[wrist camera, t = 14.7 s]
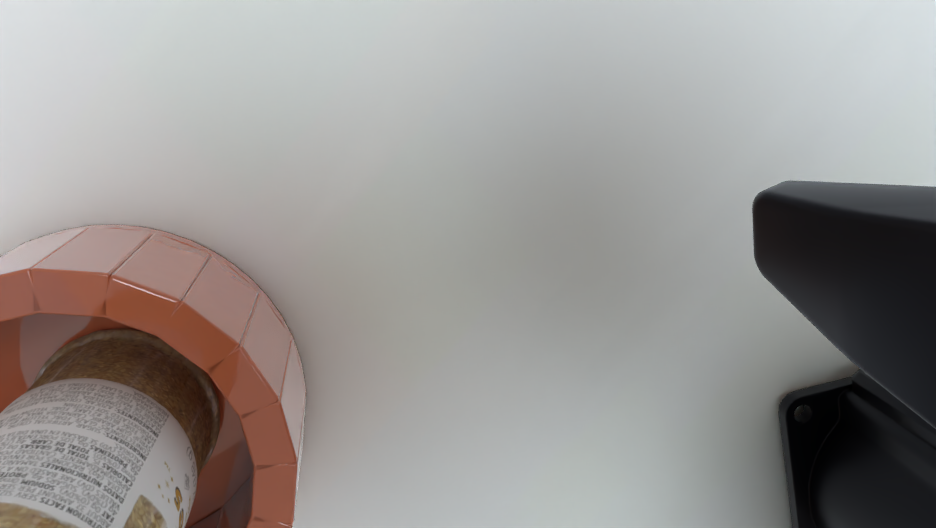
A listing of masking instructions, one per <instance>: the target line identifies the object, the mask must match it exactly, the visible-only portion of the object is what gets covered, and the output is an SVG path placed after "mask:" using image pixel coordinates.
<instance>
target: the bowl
mask: <svg viewBox="0 0 936 528" xmlns="http://www.w3.org/2000/svg"><path fill="white" fill-rule="evenodd" d="M118 328H125V329H133V330H140V331H144V332H147V333H149V334H152V335H155V336H157V337H159V338H160V339H161V340H163V341H164V342H166V343H167V344H168V345H170V346H171V347H172V348H174V349H175V350H176V351H178V352H179V353H180V354H182V355H183V356H185V357H186V358H187V359H189V360H190V361H191V362H193V363H194V364H195V365H197V366H198V367H199V368H201V369H202V370H204V371H205V372H206V373H207V375H208V376H209V377H210V379H211V381H212V384H213V386H214V389H215V392H216V394H217V397H218V399H219V408H220V427H219V434H218V438H217V443H216V445H215V448H214V450H213V452H212V455H211V457H210V459H209V461H208V462H207V464H206V465H205V467H204V468H203V469H202V470H201V472H200V475H199V477H198V480H197V488H196V495H195V498H194V502H193V505H192V508H191V511H190V514H189V517H188V520H187V523H186V525H185V528H292V527H293V522H294V518H295V509H296V500H297V491H298V482H299V473H300V465H301V456H302V447H303V436H304V422H305V408H306V387H305V378H304V373H303V368H302V364H301V359H300V356H299V353H298V350H297V347H296V344H295V342H294V339H293V336H292V334H291V332H290V331H289V329H288V327H287V325H286V323H285V321H284V319H283V317H282V316H281V314H280V313H279V311H278V310H277V308H276V307H275V306H274V304H273V303H272V301H271V300H270V298H269V297H268V296H267V295H266V294H265V293H264V292H263V291H262V290H261V289H260V287H259V286H258V285H257V284H256V283H255V282H254V281H253V280H252V279H251V278H250V277H248V276H247V275H246V274H245V273H244V272H242V271H241V270H240V269H239V268H238V267H237V266H235V265H234V264H232V263H231V262H229V261H228V260H226V259H225V258H223V257H222V256H220V255H219V254H217V253H215V252H214V251H212V250H210V249H208V248H206V247H204V246H202V245H200V244H197V243H195V242H193V241H191V240H188V239H185V238H183V237H180V236H177V235H174V234H171V233H168V232H164V231H159V230H154V229H150V228H145V227H138V226H127V225H90V226H84V227H77V228H71V229H65V230H62V231H58V232H55V233H51V234H48V235H45V236H41V237H39V238H36V239H33V240H30V241H28V242H25V243H23V244H21V245H19V246H18V247H16V248H14V249H13V250H11V251H9V252H8V253H6V254H4V255H3V256H1V257H0V413H1V412H2V411H3V410H4V409H5V408H6V407H7V406H8V405H10V404H11V403H12V402H13V401H14V400H16V399H17V398H18V397H20V396H21V395H23V394H24V393H25V392H26V391H27V390H28V389H29V388H30V387H31V386H32V385H33V382H34V380H35V378H36V376H37V374H38V373H39V371H40V370H41V368H42V367H43V365H44V364H45V363H46V362H47V361H48V360H49V358H50V357H51V356H52V355H53V354H54V353H56V352H57V351H58V350H59V349H61V348H62V347H64V346H65V345H67V344H68V343H70V342H72V341H73V340H75V339H77V338H80V337H82V336H85V335H88V334H90V333H92V332H94V331H98V330H109V329H118Z"/></svg>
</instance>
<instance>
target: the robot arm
mask: <svg viewBox="0 0 936 528" xmlns="http://www.w3.org/2000/svg"><path fill="white" fill-rule="evenodd" d="M752 213H753V240H754V258H755V261H756V264H757V266H758V268H759V270H760V272H761V273H762V275H763V276H764V277H765V278H766V279H767V280H768V281H769V282H770V283H771V284H772V285H773V286H774V287H775V288H776V289H777V290H778V291H779V292H780V293H781V294H782V295H783V296H784V297H785V298H786V299H787V300H788V301H790V302H791V303H792V304H793V305H794V306H795V307H796V308H797V309H798V310H799V311H800V312H801V313H802V314H803V315H804V316H805V317H806V318H807V319H808V320H809V321H810V322H811V323H812V324H813V325H814V326H815V327H816V328H817V329H818V330H819V331H820V332H821V333H822V334H823V335H824V336H825V337H826V338H827V339H828V340H829V341H831V342H832V343H833V344H834V345H835V346H836V347H837V348H838V349H839V350H840V351H841V352H842V353H843V354H844V355H845V356H846V357H847V358H849V359H850V360H851V361H852V362H853V363H854V364H855V365H857V366H858V367H859V368H860V370H858V371H857V372H856V373H855V374H854V375H852V377H848V378H844V379H841V380H837V381H833V382H829V383H825V384H821V385H817V386H813V387H809V388H805V389H801V390H797V391H794V392H791V393H789V394H787V395H786V396H785V397H784V398H783V399H782V401H781V403H780V405H779V419H780V427H781V435H782V443H783V452H784V460H785V468H786V476H787V484H788V493H789V501H790V509H791V517H792V526H793V528H936V187H928V186H905V185H882V184H858V183H835V182H812V181H785V182H782V183H779V184H777V185H775V186H773V187H771V188H768V189H766V190H764V191H762V192H760V193H759V194H758V195H757V196H756V197H755V199H754V202H753V207H752ZM801 405H804V410H803V412H802V413H801V414H800V415H798V416H794V412H795V410H796V409H797V407H799V406H801Z"/></svg>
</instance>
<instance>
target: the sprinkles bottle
mask: <svg viewBox="0 0 936 528" xmlns="http://www.w3.org/2000/svg"><path fill="white" fill-rule="evenodd" d="M219 427H220V408H219V399H218V397H217V394H216V392H215V389H214V386H213V384H212V381H211V379H210V377H209V376H208V375H207V373H206V372H205V371H204V370H202V369H201V368H199V367H198V366H197V365H195V364H194V363H193V362H191V361H190V360H189V359H187V358H186V357H185V356H183V355H182V354H180V353H179V352H178V351H176V350H175V349H174V348H172V347H171V346H170V345H168V344H167V343H166V342H164V341H163V340H161V339H160V338H159V337H157V336H155V335H152V334H149V333H147V332H144V331H140V330H133V329H125V328H118V329H109V330H98V331H94V332H92V333H90V334H88V335H85V336H82V337H80V338H77V339H75V340H73V341H72V342H70V343H68V344H67V345H65V346H64V347H62V348H61V349H59V350H58V351H57V352H56V353H54V354H53V355H52V356H51V357H50V358H49V360H48V361H47V362H46V363H45V364H44V365H43V367H42V368H41V370H40V371H39V373H38V374H37V376H36V378H35V380H34V382H33V385H32V386H31V387H30V388H29V389H28V390H27V391H26V392H25V393H24V394H23V395H21V396H20V397H18V398H17V399H16V400H14V401H13V402H12V403H11V404H10V405H8V406H7V407H6V408H5V409H4V410H3V411H2V412H1V413H0V528H185V525H186V523H187V520H188V517H189V514H190V511H191V508H192V505H193V502H194V498H195V495H196V488H197V480H198V477H199V475H200V472H201V470H202V469H203V468H204V467H205V465H206V464H207V462H208V461H209V459H210V457H211V455H212V452H213V450H214V448H215V445H216V443H217V438H218V434H219Z"/></svg>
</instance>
